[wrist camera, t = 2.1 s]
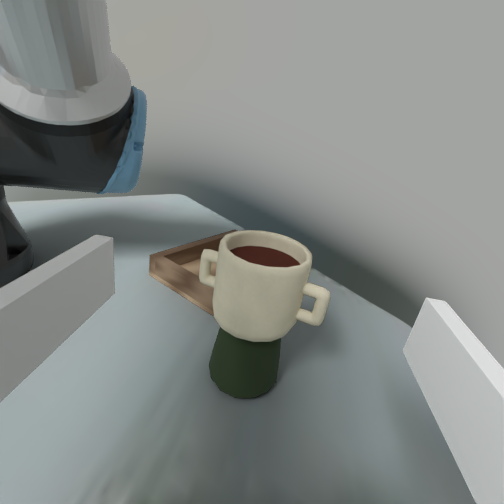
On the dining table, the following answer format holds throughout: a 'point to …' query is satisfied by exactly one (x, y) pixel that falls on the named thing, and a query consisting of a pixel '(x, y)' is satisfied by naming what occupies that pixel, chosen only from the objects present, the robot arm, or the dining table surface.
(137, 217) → the dining table surface
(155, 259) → the wooden tray
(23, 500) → the dining table surface
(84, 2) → the robot arm
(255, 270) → the character mug
